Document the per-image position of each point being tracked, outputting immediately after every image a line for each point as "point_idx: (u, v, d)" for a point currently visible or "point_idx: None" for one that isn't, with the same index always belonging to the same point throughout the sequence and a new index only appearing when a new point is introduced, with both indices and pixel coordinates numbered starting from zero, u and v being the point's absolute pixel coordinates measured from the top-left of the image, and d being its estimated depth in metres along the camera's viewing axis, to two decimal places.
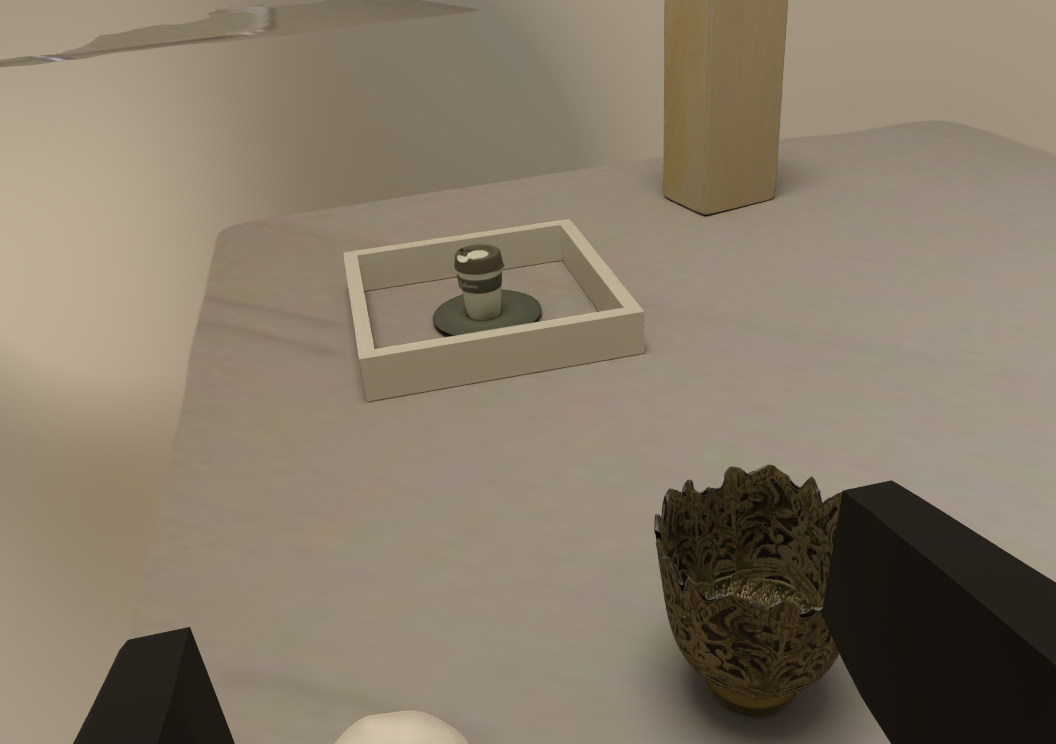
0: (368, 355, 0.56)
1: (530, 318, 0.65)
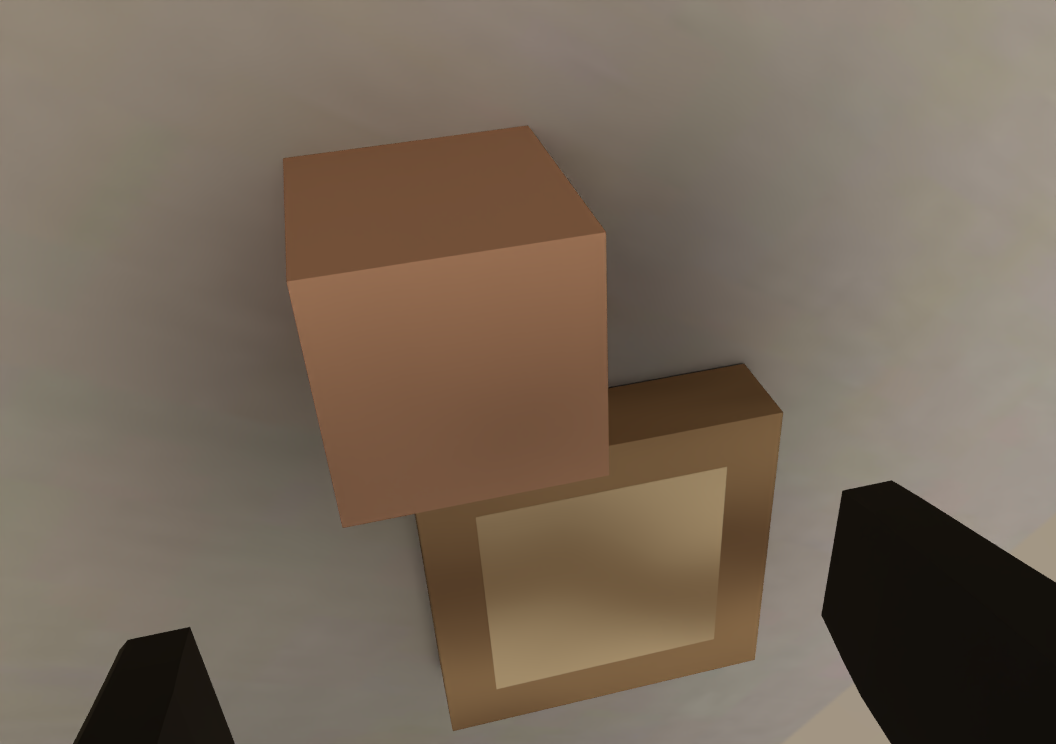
0: None
1: None
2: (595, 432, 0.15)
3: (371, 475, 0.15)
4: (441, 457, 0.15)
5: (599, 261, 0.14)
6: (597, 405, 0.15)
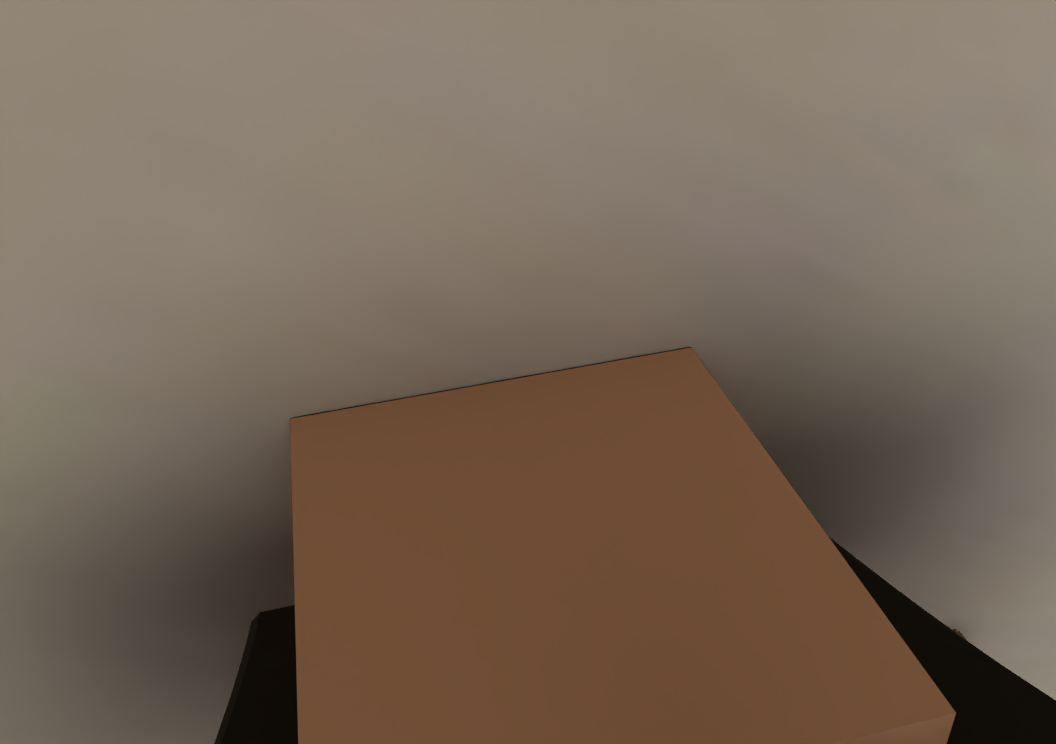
0: None
1: None
2: None
3: None
4: None
5: None
6: None
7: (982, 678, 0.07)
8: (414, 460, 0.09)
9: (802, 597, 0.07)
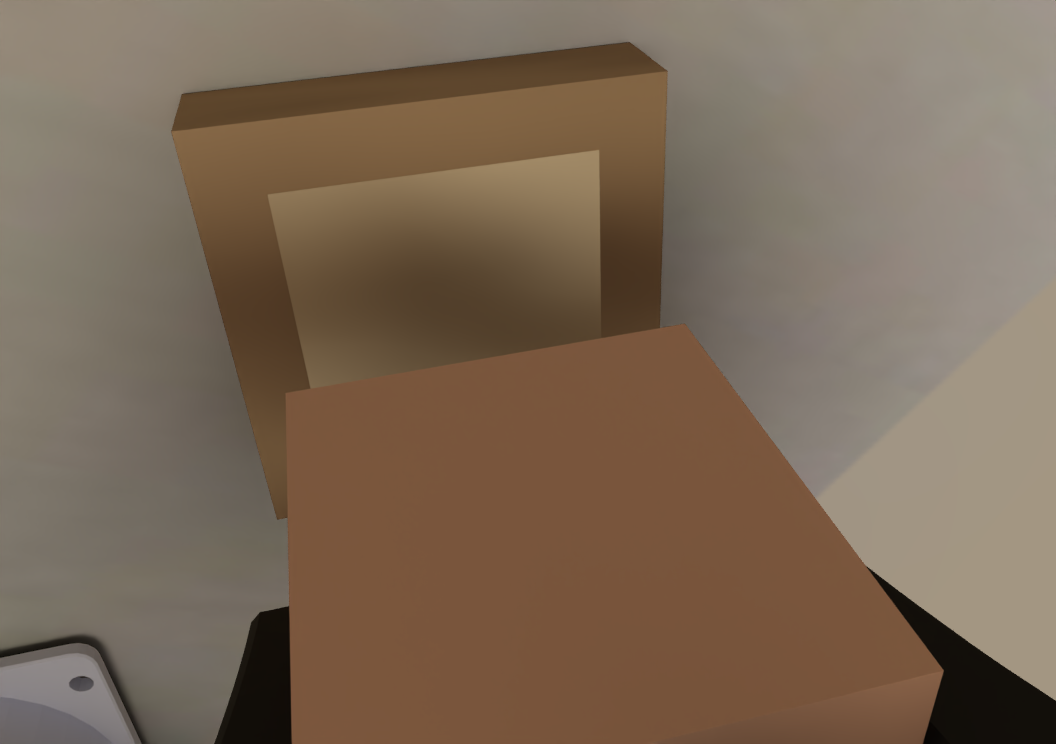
0: None
1: None
2: None
3: None
4: None
5: (917, 711, 0.07)
6: None
7: (982, 678, 0.07)
8: (408, 432, 0.09)
9: (792, 561, 0.07)
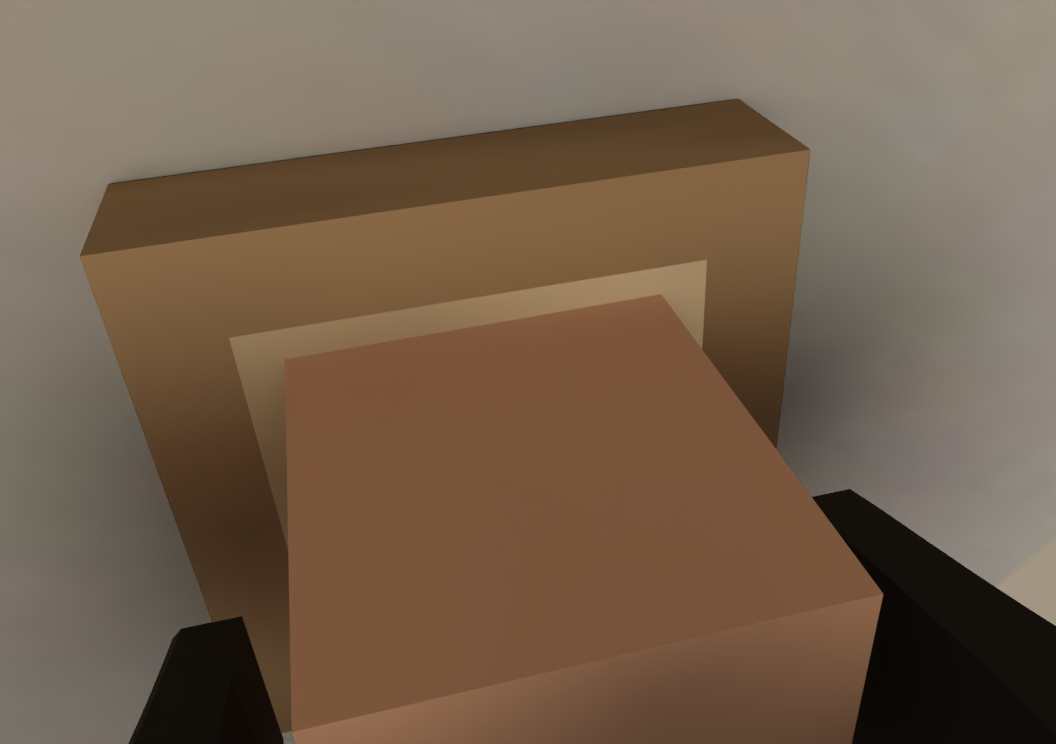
0: None
1: None
2: None
3: None
4: None
5: (861, 634, 0.07)
6: None
7: None
8: (399, 393, 0.10)
9: (751, 502, 0.08)
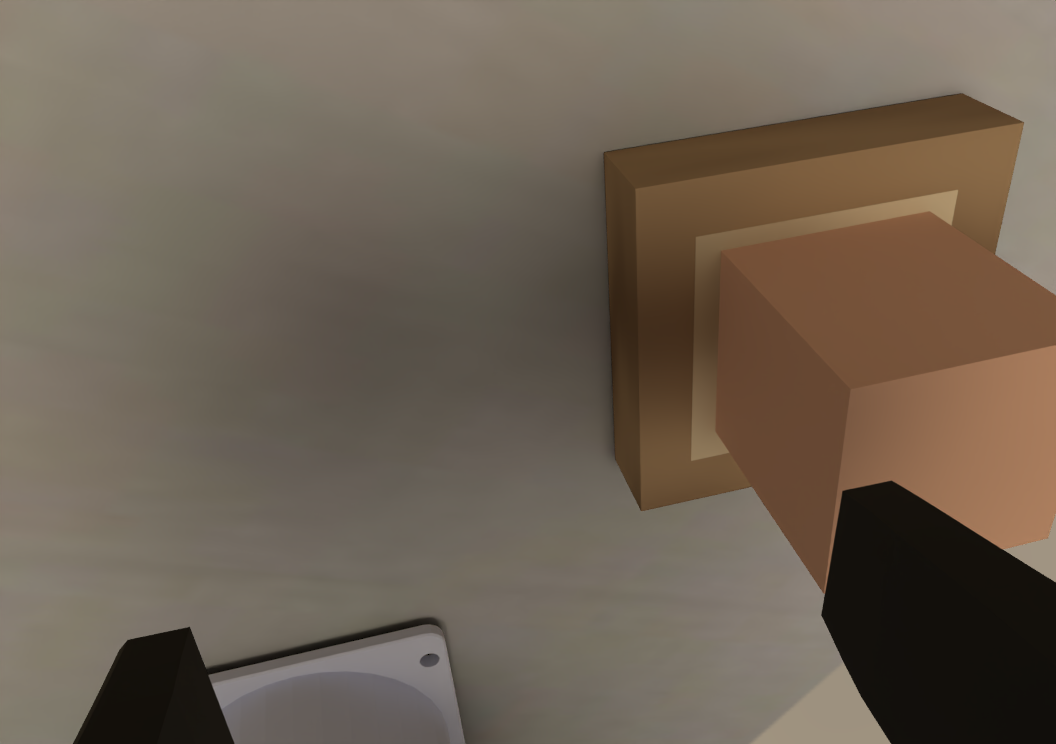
0: None
1: None
2: (1048, 502, 0.17)
3: None
4: None
5: None
6: None
7: None
8: (804, 263, 0.17)
9: (1029, 302, 0.16)
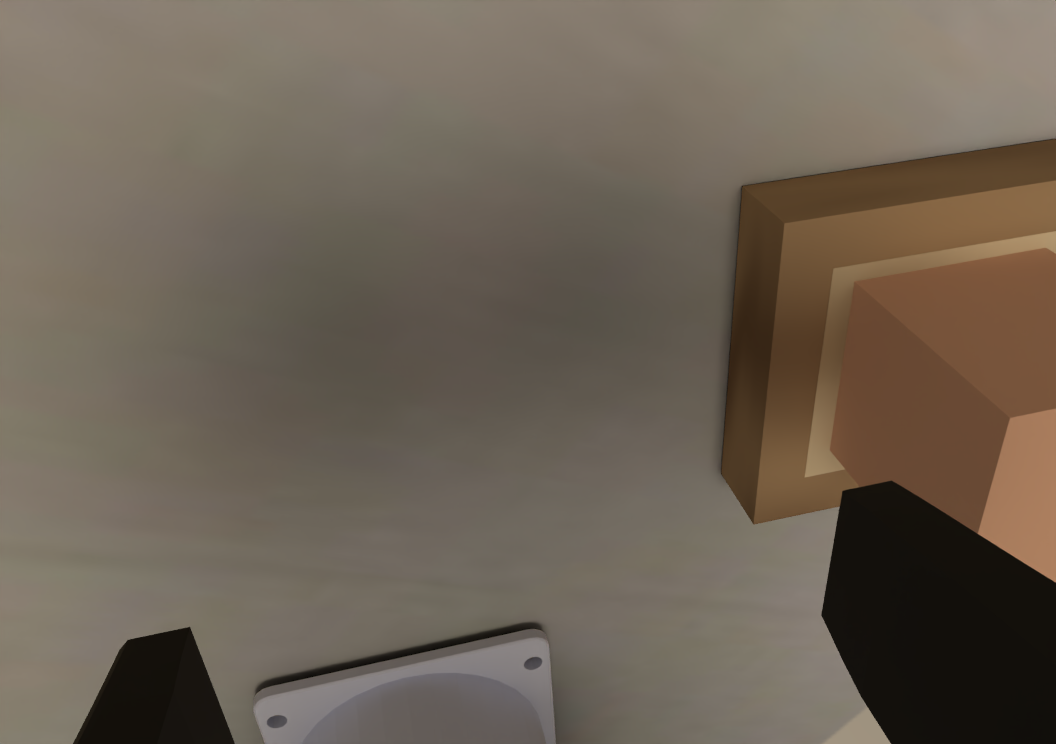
0: None
1: None
2: None
3: None
4: (1051, 548, 0.17)
5: None
6: None
7: None
8: (937, 296, 0.19)
9: None
